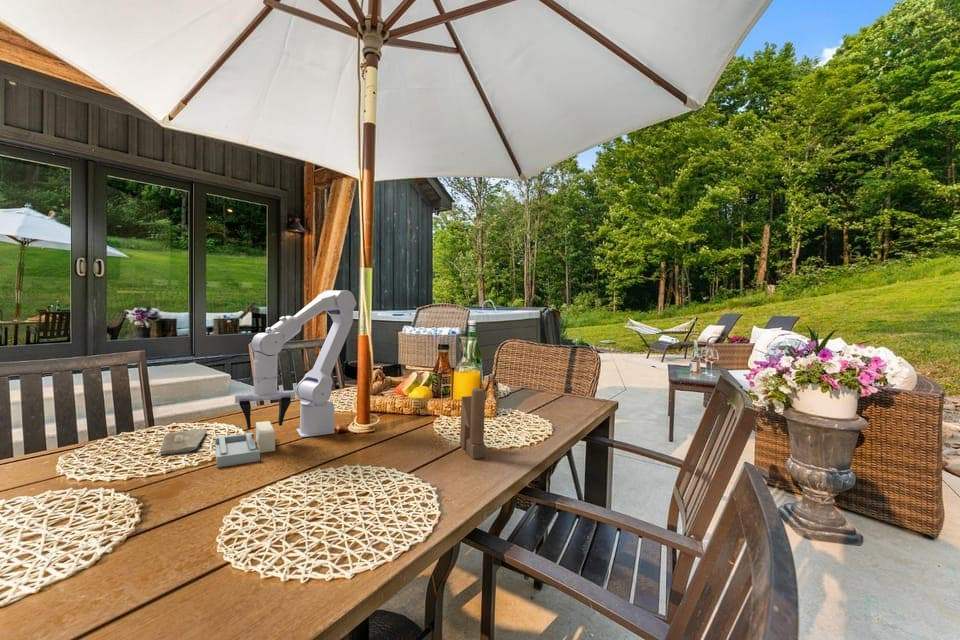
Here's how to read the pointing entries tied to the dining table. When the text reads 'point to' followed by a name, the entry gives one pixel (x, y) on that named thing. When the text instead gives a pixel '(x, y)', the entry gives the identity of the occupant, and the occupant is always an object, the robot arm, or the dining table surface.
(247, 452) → the tray
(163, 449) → the stone
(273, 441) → the clay bar
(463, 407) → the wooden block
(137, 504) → the dining table surface
